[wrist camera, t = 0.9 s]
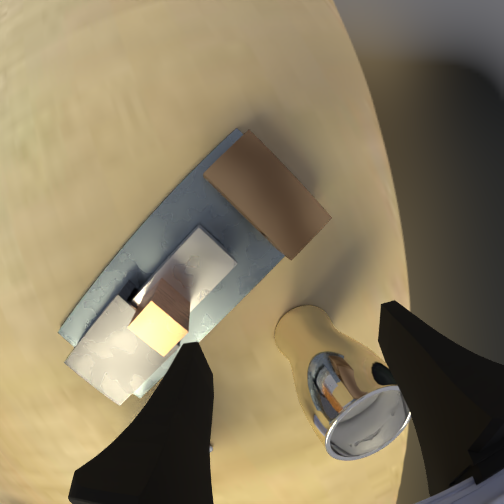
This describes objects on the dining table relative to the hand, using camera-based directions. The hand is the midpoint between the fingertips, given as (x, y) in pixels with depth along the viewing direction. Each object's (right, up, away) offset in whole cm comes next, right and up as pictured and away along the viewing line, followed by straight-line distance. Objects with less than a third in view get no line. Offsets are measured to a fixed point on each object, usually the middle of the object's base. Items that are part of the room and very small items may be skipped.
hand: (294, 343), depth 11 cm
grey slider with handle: (-10, -1, +14) cm, 18 cm away
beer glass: (+4, -5, +19) cm, 20 cm away
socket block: (-1, +9, +16) cm, 18 cm away
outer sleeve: (-8, +1, +16) cm, 18 cm away
